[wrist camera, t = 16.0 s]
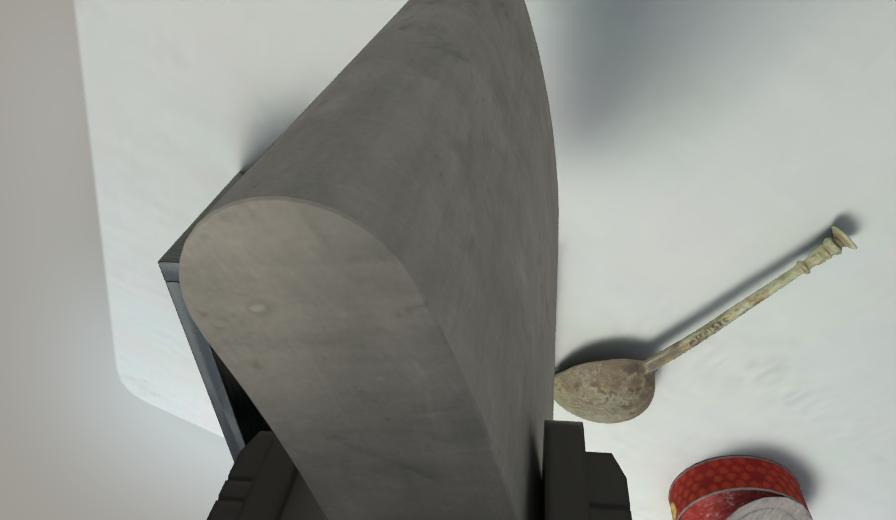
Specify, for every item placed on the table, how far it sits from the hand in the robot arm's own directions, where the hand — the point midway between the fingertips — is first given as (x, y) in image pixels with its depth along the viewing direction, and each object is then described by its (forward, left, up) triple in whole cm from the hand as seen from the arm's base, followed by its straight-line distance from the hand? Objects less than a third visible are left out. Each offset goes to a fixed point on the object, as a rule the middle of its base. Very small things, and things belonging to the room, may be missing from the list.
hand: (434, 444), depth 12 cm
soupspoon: (+12, -18, -26) cm, 33 cm away
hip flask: (+1, -1, -15) cm, 15 cm away
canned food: (+18, -35, -26) cm, 47 cm away
